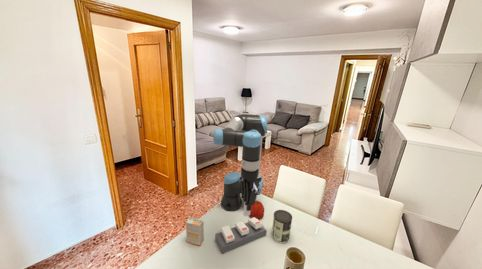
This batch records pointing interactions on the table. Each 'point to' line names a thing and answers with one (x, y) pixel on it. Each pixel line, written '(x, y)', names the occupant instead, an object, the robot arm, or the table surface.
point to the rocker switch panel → (239, 238)
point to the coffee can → (281, 226)
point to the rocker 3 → (255, 223)
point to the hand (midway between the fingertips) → (246, 214)
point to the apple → (257, 210)
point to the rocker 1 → (227, 234)
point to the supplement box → (195, 231)
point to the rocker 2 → (242, 228)
